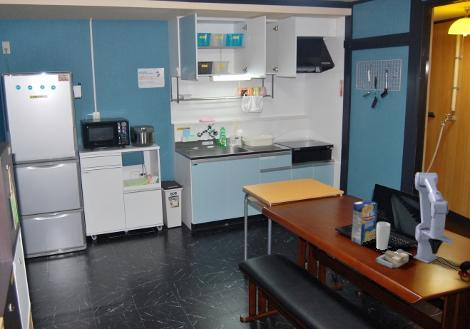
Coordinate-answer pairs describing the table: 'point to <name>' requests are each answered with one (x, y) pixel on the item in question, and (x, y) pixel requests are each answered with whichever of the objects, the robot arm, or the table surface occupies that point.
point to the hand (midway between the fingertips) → (434, 253)
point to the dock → (382, 261)
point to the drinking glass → (382, 235)
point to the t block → (396, 258)
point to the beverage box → (364, 221)
